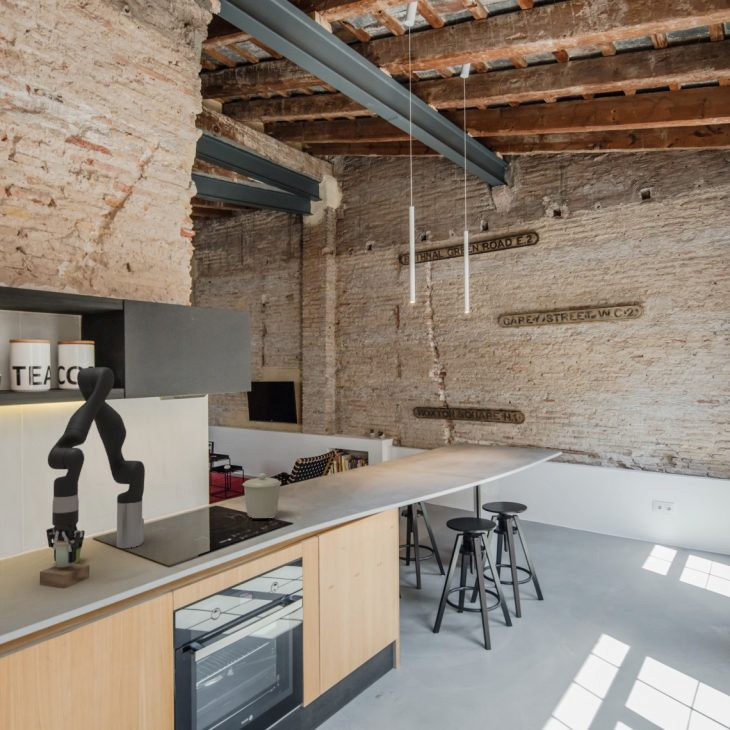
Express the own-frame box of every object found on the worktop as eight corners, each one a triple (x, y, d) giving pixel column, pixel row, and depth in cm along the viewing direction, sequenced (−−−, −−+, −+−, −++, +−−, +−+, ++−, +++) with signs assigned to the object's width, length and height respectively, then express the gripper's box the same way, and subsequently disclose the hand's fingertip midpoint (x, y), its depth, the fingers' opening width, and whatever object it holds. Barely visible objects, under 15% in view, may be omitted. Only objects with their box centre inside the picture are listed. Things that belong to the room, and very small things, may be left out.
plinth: (65, 574, 185) (65, 562, 185) (89, 577, 181) (89, 565, 182) (39, 584, 175) (39, 571, 175) (63, 588, 172) (64, 575, 172)
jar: (65, 561, 182) (65, 537, 182) (78, 562, 180) (78, 538, 180) (51, 566, 177) (51, 541, 177) (64, 567, 175) (64, 543, 175)
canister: (254, 525, 246) (254, 478, 247) (235, 517, 260) (235, 473, 260) (288, 518, 258) (288, 473, 259) (268, 511, 272) (268, 468, 272)
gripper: (92, 508, 180) (91, 560, 180) (58, 505, 185) (57, 556, 184) (73, 513, 173) (72, 567, 173) (38, 510, 178) (38, 563, 177)
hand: (65, 561), depth 178 cm, fingers closed on jar, 5 cm apart
